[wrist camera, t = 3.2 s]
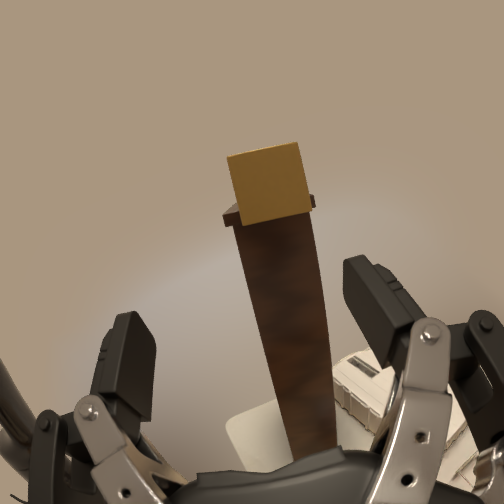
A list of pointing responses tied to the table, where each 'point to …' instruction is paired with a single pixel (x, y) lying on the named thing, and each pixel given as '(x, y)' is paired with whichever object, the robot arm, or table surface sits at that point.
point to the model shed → (376, 392)
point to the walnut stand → (291, 323)
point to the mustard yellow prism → (269, 183)
